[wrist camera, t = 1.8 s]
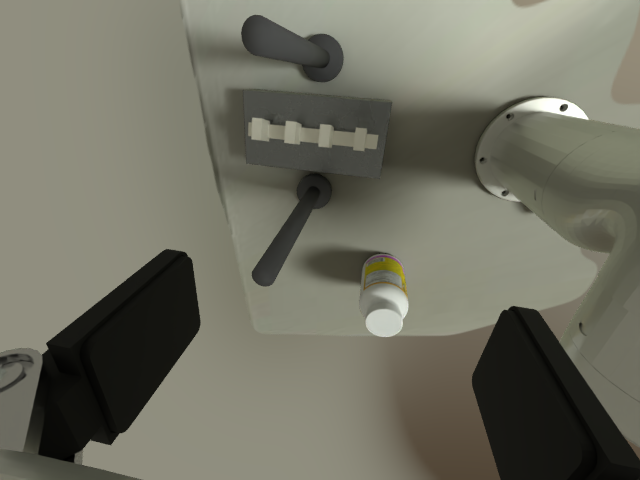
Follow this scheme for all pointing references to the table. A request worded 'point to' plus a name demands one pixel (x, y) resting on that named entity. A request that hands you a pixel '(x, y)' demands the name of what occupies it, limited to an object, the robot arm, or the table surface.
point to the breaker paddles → (311, 135)
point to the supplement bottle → (383, 295)
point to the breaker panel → (311, 114)
